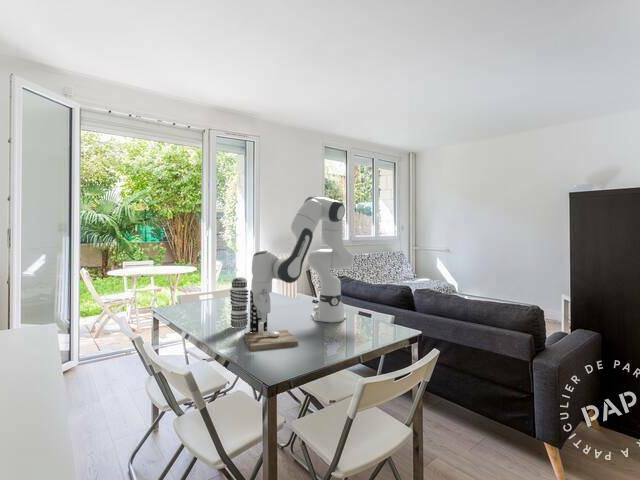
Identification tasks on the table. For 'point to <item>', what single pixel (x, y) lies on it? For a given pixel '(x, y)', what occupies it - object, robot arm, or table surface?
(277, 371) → the table surface
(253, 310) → the spotted tube
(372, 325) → the table surface
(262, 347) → the dial board
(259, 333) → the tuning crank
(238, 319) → the decorative candle
